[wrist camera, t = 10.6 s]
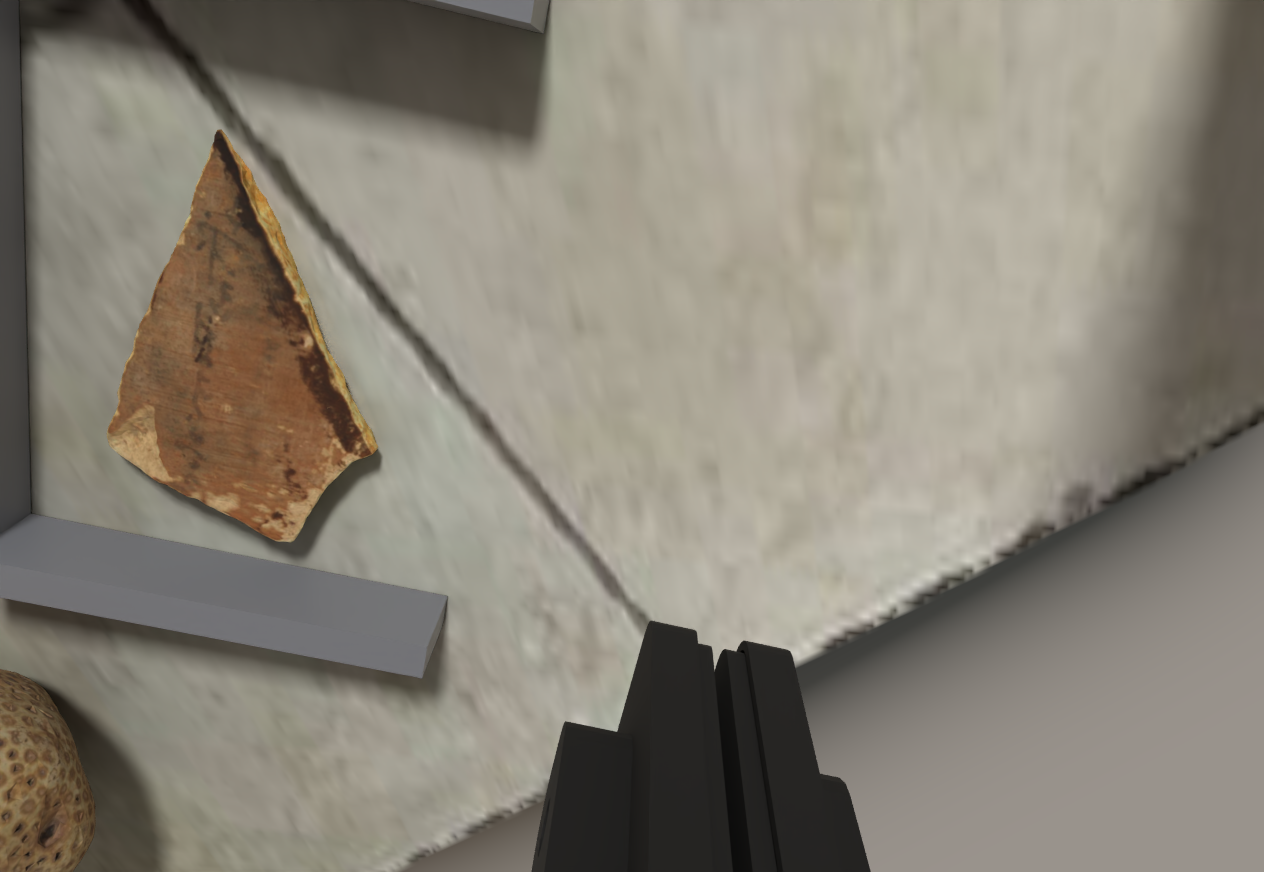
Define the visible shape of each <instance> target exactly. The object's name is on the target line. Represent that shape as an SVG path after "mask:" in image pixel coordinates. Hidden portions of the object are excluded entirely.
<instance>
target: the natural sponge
mask: <svg viewBox="0 0 1264 872" xmlns="http://www.w3.org/2000/svg"><path fill="white" fill-rule="evenodd" d="M95 824H96V820H95V802H94V799H93V795H92V791H91V788H90V785H89V782H88V780H87V778H86V775H85V773H84V770H83V768H82V765H81V762H80V759H79V756H78V752H77V748H76V745H75V742H74V739H73V737H72V734H71V732H70V730H69V728H68V726H67V724H66V722H65V721H64V719H63V718H62V716H61V715H60V713H59V711H58V709H57V706H56V705H55V704H54V702H53V701H52V699H51V698H50V696H49V695H48V693H47V692H46V691H45V690H44V689H43V688H42V687H41V686H40V685H38V684H37V683H35V682H33V681H32V680H30V679H29V678H27V677H24V676H22V675H20V674H18V673H15V672H11V671H7V670H2V669H0V872H73V870H74V869H75V868H76V866H77V865H78V864H79V862H80V861H81V860H82V858H83V856H84V854H85V853H86V851H87V849H88V847H89V846H90V844H91V842H92V840H93V837H94V831H95Z"/></svg>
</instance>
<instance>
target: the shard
mask: <svg viewBox="0 0 1264 872" xmlns="http://www.w3.org/2000/svg"><path fill="white" fill-rule="evenodd" d="M296 268H297V267H296V264H295V262H294V259H293V257H292V254H291V252H290V251H289V249H288V247H287V245H286V241H285V237H284V235H283V233H282V231H281V227H280V224H279V222H278V220H277V219H276V217H275V215H274V213H273V211H272V209H271V208H270V206H269V204H268V202H267V199H266V198H265V196H264V195H263V194H262V193H261V192H260V191H259V189H258V187H257V185H256V183H255V181H254V179H253V175H252V173H251V171H250V169H249V168H248V167H247V166H246V165H245V163H244V162H243V160H242V159H241V158H240V157H239V155H238V154H237V153H236V152H235V151H234V149H233V147H232V145H231V143H230V141H229V139H228V138H227V136H226V135H225V134H224V132H223V131H222V130H217V132H216V134H215V139H214V143H213V145H212V147H211V150H210V153H209V158H208V160H207V163H206V165H205V167H204V169H203V171H202V175H201V177H200V179H199V181H198V183H197V185H196V189H195V193H194V197H193V201H192V205H191V213H190V215H189V217H188V219H187V220H186V222H185V225H184V229H183V231H182V233H181V235H180V237H179V240H178V242H177V245H176V247H175V249H174V252H173V254H172V255H171V258H170V261H169V262H168V263H167V265H166V266H165V268H164V270H163V272H162V274H161V275H160V277H159V279H158V282H157V285H156V287H155V290H154V293H153V296H152V299H151V302H150V305H149V308H148V311H147V313H146V314H145V316H144V318H143V319H142V321H141V323H140V324H139V329H138V331H137V334H136V337H135V339H134V347H133V351H132V353H131V355H130V357H129V359H128V360H127V361H126V363H125V368H124V373H123V376H122V380H121V383H120V387H119V389H118V392H117V394H118V398H119V403H118V407H117V410H116V413H115V414H114V416H113V418H112V421H111V423H110V425H109V427H108V430H107V439H108V442H109V446H110V447H111V448H113V449H114V450H115V451H116V452H117V453H118V454H119V455H120V456H122V457H123V458H125V459H126V460H128V461H130V462H131V463H133V464H134V465H135V466H137V467H138V468H140V469H141V470H142V471H143V472H144V473H145V474H147V475H148V476H150V477H151V478H153V479H154V480H156V481H157V482H159V483H162V484H166V485H168V486H169V487H171V488H173V489H175V490H177V491H178V492H180V493H182V494H183V495H185V496H187V497H190V498H196V499H198V500H200V501H201V502H203V503H204V504H205V505H207V506H210V507H212V508H214V509H216V510H218V511H219V512H222V513H224V514H226V515H228V516H230V517H233V518H235V519H237V520H239V521H241V522H243V523H245V524H246V525H248V526H249V527H251V528H252V529H254V530H256V531H257V532H259V533H261V534H262V535H264V536H266V537H268V538H270V539H273V540H275V541H277V542H278V541H286V542H290V543H291V542H293V541H294V540H295V539H296V537H297V536H298V534H299V533H300V531H301V529H302V528H303V526H304V523H305V521H306V518H307V517H308V515H309V514H310V512H311V511H312V509H313V507H314V506H315V505H316V503H317V502H318V500H319V498H320V496H321V495H322V494H323V492H324V491H325V489H326V488H327V486H328V485H329V484H330V483H332V482H333V481H334V480H335V479H336V478H337V476H338V475H339V474H340V473H341V472H343V471H344V470H345V469H346V468H347V467H348V466H349V465H350V464H351V463H352V462H354V461H356V460H358V459H362V458H366V457H368V456H370V455H372V454H373V453H374V452H375V451H376V450H377V448H378V445H377V444H376V441H375V438H374V435H373V432H372V430H371V429H370V428H369V426H368V425H367V423H366V422H365V420H364V418H363V417H362V415H361V414H360V412H359V410H358V408H357V406H356V404H355V403H354V401H353V399H352V397H351V395H350V393H349V391H348V389H347V387H346V382H345V377H344V375H343V373H342V371H341V370H340V368H339V367H338V366H337V364H336V363H335V361H334V359H333V358H332V356H331V354H330V353H329V352H328V350H327V348H326V344H325V342H324V340H323V338H322V334H321V332H320V329H319V326H318V323H317V319H316V316H315V313H314V310H313V307H312V304H311V302H310V299H309V295H308V294H307V292H306V290H305V287H304V284H303V281H302V279H301V278H300V276H299V274H298V272H297V270H296Z"/></svg>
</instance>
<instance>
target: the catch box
mask: <svg viewBox="0 0 1264 872" xmlns="http://www.w3.org/2000/svg"><path fill="white" fill-rule="evenodd" d="M407 1H411V2H415V3H419V4H423V5H428V6H432V7H436V8H440V9H444V10H448V11H452V12H456V13H460V14H464V15H469V16H473V17H477V18H481V19H485V20H489V21H493V22H497V23H501V24H505V25H510V26H514V27H518V28H522V29H526V30H530V31H534V32H538V33H542V34H544V29H545V24H546V18H547V12H548V6H549V0H407ZM447 597H448V596H444V595H439V594H434V593H429V592H424V591H419V590H414V589H409V588H404V587H399V586H394V585H389V584H384V583H378V582H373V581H368V580H363V579H358V578H353V577H348V576H343V575H338V574H333V573H328V572H323V571H318V570H313V569H308V568H303V567H298V566H293V565H288V564H283V563H278V562H273V561H268V560H263V559H257V558H252V557H247V556H242V555H237V554H232V553H227V552H222V551H217V550H212V549H207V548H202V547H197V546H192V545H187V544H182V543H177V542H172V541H167V540H162V539H157V538H152V537H147V536H142V535H137V534H131V533H126V532H121V531H116V530H111V529H106V528H101V527H96V526H91V525H86V524H81V523H76V522H71V521H66V520H61V519H56V518H51V517H46V516H41V515H36V514H31V492H30V450H29V409H28V368H27V326H26V285H25V243H24V202H23V160H22V119H21V78H20V36H19V0H0V598H5V599H11V600H16V601H21V602H26V603H32V604H37V605H42V606H47V607H52V608H58V609H63V610H68V611H73V612H79V613H84V614H89V615H94V616H99V617H105V618H110V619H115V620H120V621H125V622H131V623H136V624H141V625H146V626H152V627H157V628H162V629H167V630H172V631H178V632H183V633H188V634H193V635H199V636H204V637H209V638H214V639H219V640H225V641H230V642H235V643H240V644H246V645H251V646H256V647H261V648H266V649H272V650H277V651H282V652H287V653H292V654H298V655H303V656H308V657H313V658H319V659H324V660H329V661H334V662H339V663H345V664H350V665H355V666H360V667H366V668H371V669H376V670H381V671H386V672H392V673H397V674H402V675H407V676H412V677H418V678H422V677H423V675H424V672H425V670H426V667H427V664H428V662H429V659H430V657H431V654H432V652H433V649H434V646H435V644H436V641H437V639H438V636H439V634H440V631H441V628H442V626H443V620H444V614H445V609H446V603H447Z"/></svg>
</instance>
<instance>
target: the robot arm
mask: <svg viewBox="0 0 1264 872" xmlns="http://www.w3.org/2000/svg"><path fill="white" fill-rule="evenodd" d="M532 872H870V868H869V864H868V860H867V856H866V853H865V849H864V845H863V842H862V838H861V835H860V830H859V827H858V823H857V820H856V815H855V812H854V808H853V805H852V801H851V797H850V794H849V791H848V789H847V786H846V784H845V783H844V782H843V781H842V780H841V779H840V778H838V777H832V776H828V775H823V774H820V773H819V768H818V764H817V760H816V755H815V751H814V747H813V742H812V738H811V734H810V730H809V726H808V721H807V717H806V712H805V708H804V705H803V700H802V696H801V691H800V687H799V683H798V678H797V674H796V670H795V665H794V661H793V657H792V654H791V652H790V651H789V650H786V649H781V648H777V647H772V646H767V645H763V644H758V643H753V642H749V641H743V642H741V644H740V645H739V647H738V649H737V652H736V651H731V650H726V649H724V650H723V651H722V652H721V654H720V657H719V659H718V662H717V665H716V669H715V672H714V662H713V652H712V647H711V646H708V645H703V644H698V639H697V632H696V631H695V630H692V629H688V628H683V627H678V626H674V625H669V624H664V623H660V622H655V621H650V622H649V624H648V626H647V629H646V632H645V635H644V639H643V642H642V646H641V649H640V653H639V656H638V660H637V664H636V667H635V671H634V674H633V678H632V681H631V685H630V689H629V692H628V696H627V699H626V703H625V706H624V710H623V713H622V717H621V721H620V724H619V728H618V731H617V732H615V731H610V730H605V729H600V728H595V727H590V726H586V725H581V724H576V723H571V722H566V721H565V723H564V725H563V728H562V732H561V735H560V739H559V743H558V747H557V751H556V755H555V759H554V763H553V767H552V771H551V775H550V780H549V784H548V788H547V793H546V797H545V802H544V807H543V812H542V816H541V822H540V827H539V832H538V837H537V843H536V848H535V855H534V860H533V866H532Z"/></svg>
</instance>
